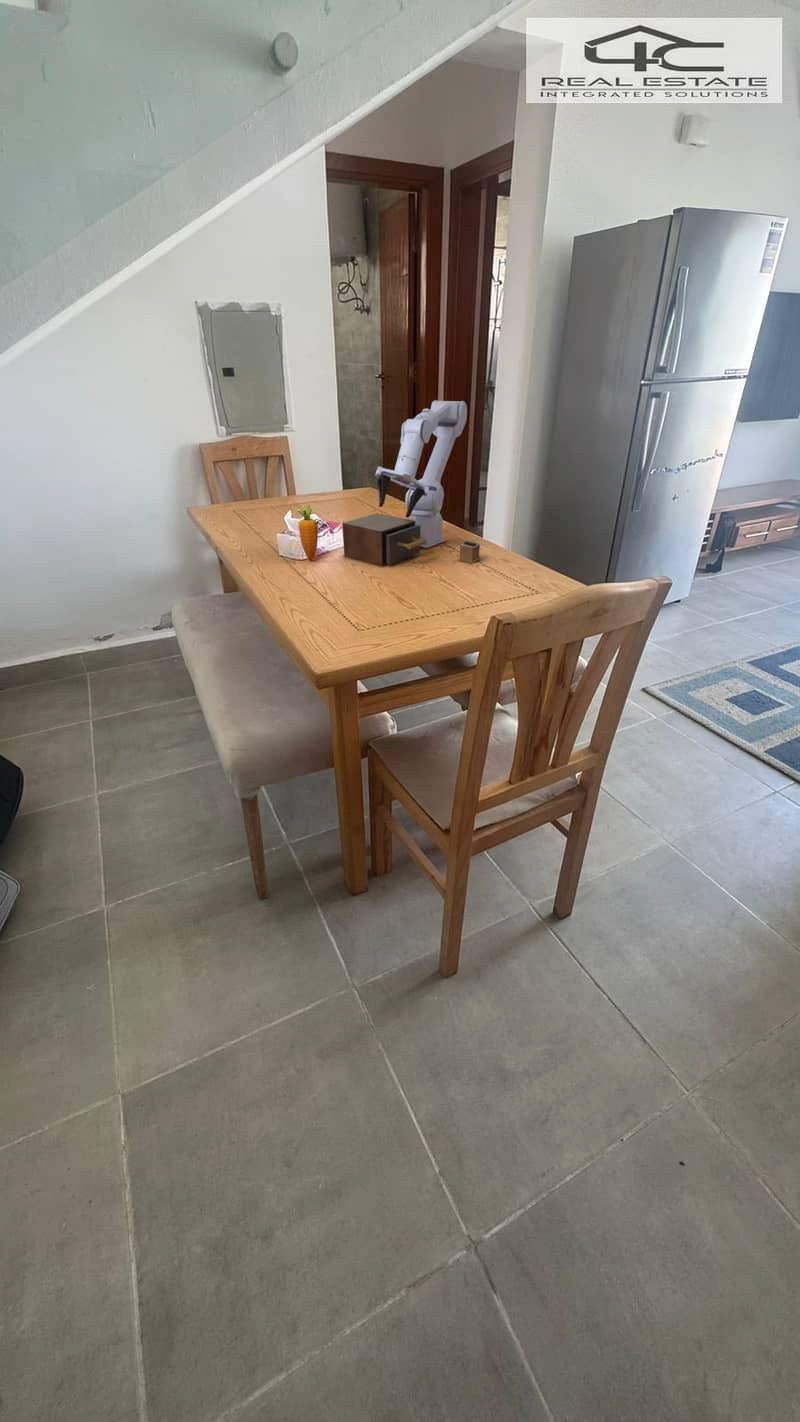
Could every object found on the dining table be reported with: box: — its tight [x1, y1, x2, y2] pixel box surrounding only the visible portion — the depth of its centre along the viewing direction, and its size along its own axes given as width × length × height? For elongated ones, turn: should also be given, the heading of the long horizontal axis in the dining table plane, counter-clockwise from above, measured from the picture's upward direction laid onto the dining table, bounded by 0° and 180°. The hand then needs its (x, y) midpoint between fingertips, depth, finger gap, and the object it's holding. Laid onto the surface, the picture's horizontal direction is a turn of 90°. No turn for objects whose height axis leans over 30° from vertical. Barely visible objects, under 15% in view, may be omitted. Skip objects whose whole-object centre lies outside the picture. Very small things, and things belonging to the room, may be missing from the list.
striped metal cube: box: [459, 540, 481, 564], centre depth 167 cm, size 4×4×5 cm
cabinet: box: [342, 512, 416, 567], centre depth 170 cm, size 14×14×9 cm
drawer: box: [383, 525, 427, 565], centre depth 167 cm, size 18×13×8 cm
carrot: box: [297, 503, 319, 562], centre depth 164 cm, size 5×5×15 cm
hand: (394, 510), depth 159 cm, fingers open, 7 cm apart
